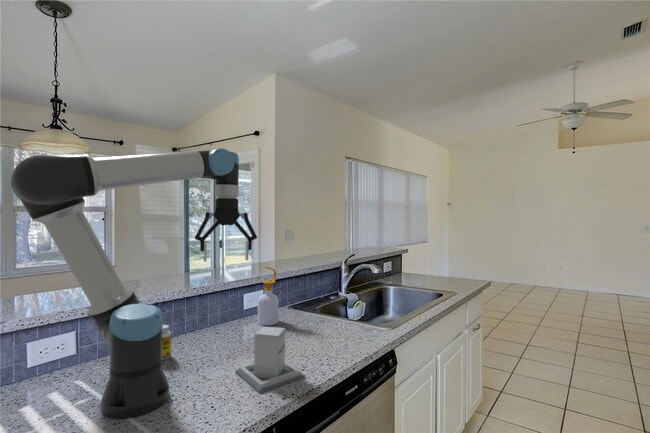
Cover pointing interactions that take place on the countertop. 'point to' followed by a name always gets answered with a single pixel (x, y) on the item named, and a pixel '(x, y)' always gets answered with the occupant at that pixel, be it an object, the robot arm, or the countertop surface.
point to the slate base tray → (266, 384)
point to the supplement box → (269, 352)
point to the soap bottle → (268, 304)
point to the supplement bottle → (166, 342)
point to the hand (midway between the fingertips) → (226, 260)
